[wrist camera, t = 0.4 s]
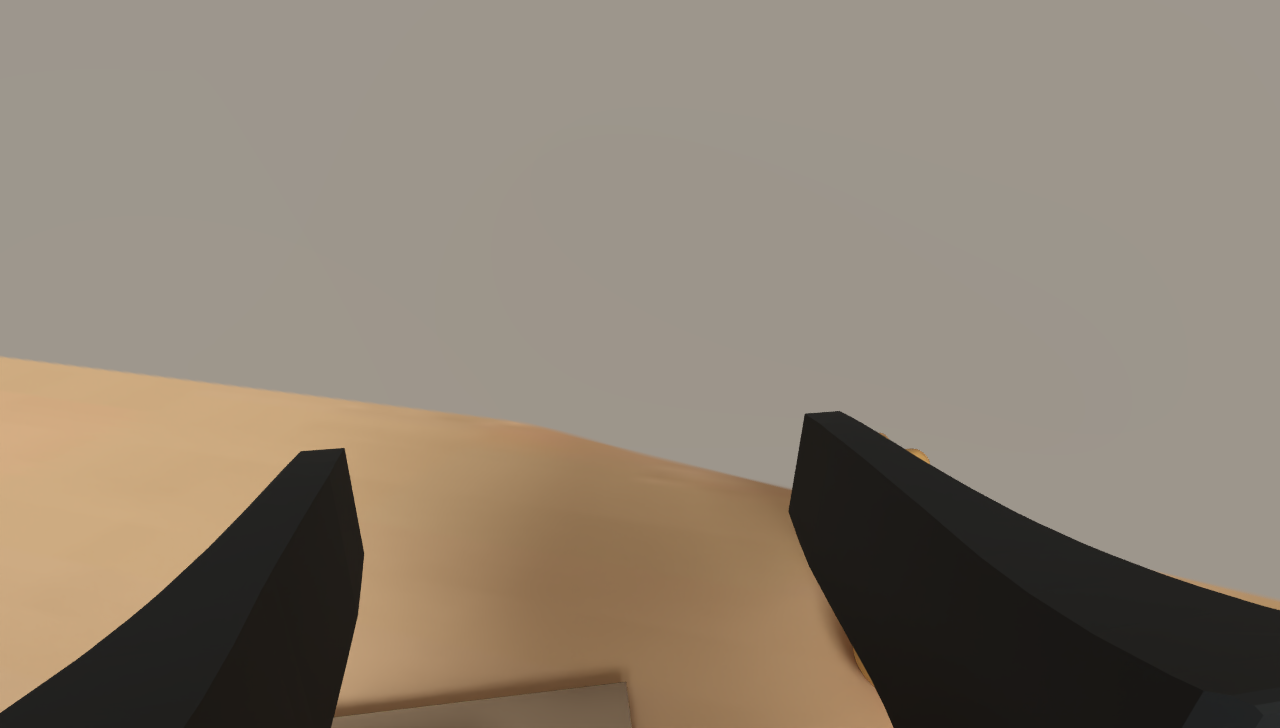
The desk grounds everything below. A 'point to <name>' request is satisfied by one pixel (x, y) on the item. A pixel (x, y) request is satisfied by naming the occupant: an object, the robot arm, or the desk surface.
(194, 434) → the desk surface
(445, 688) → the desk surface
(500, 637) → the desk surface
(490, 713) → the ticket board
